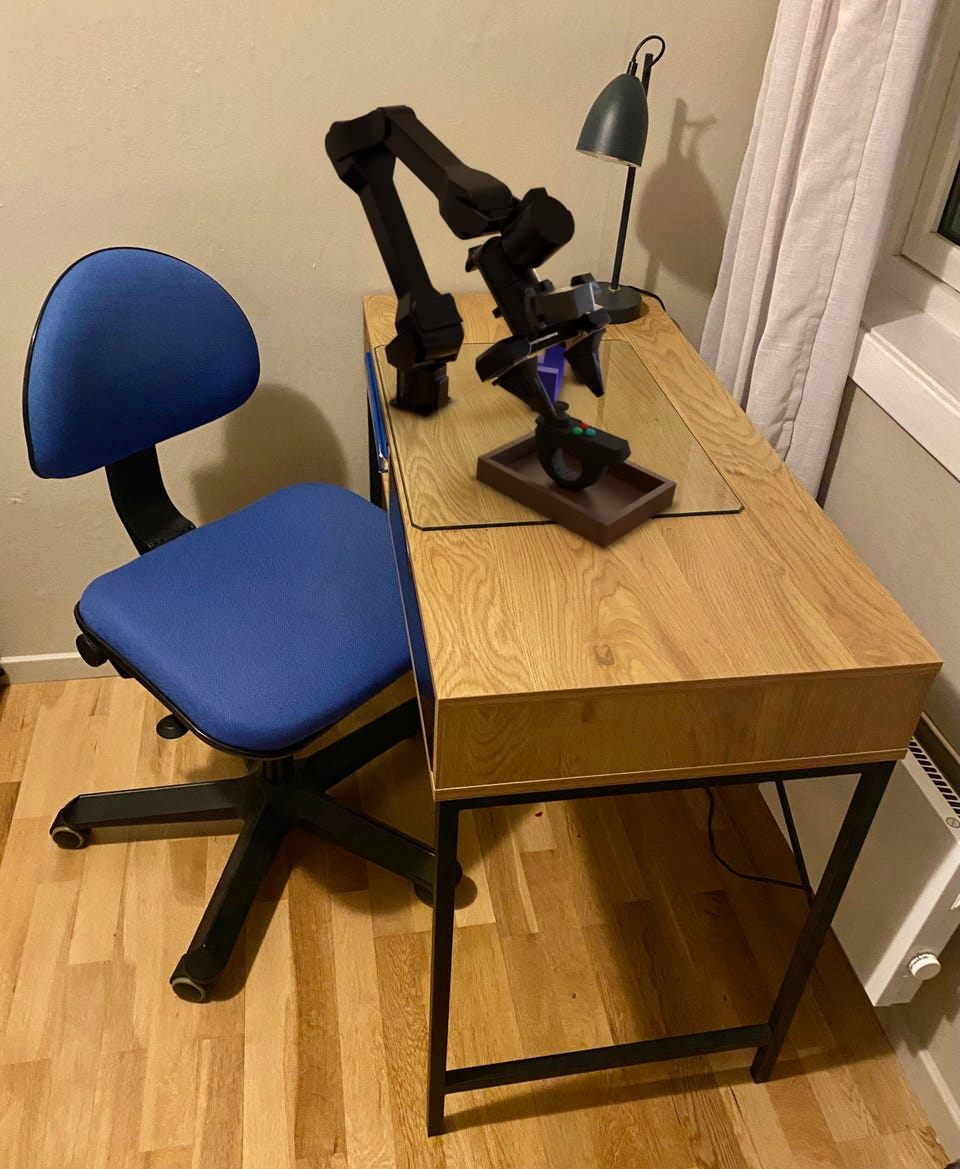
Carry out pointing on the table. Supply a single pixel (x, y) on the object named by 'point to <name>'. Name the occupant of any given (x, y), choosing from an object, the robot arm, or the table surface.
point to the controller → (576, 448)
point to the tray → (577, 491)
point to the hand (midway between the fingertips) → (577, 407)
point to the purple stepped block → (551, 370)
